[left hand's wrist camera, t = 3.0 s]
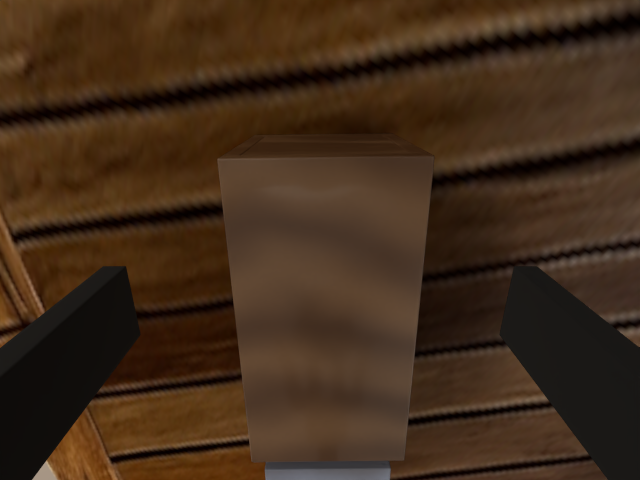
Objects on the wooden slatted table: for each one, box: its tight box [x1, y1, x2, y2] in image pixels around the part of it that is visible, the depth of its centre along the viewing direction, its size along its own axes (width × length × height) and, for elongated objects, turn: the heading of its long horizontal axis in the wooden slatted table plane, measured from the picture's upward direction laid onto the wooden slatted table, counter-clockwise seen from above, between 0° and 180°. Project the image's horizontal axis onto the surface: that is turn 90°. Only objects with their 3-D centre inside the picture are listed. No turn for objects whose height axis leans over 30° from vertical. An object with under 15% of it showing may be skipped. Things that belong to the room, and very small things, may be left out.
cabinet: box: [217, 133, 434, 462], centre depth 26 cm, size 20×10×11 cm, turn 1°
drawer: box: [265, 461, 391, 480], centre depth 28 cm, size 24×9×9 cm, turn 1°
